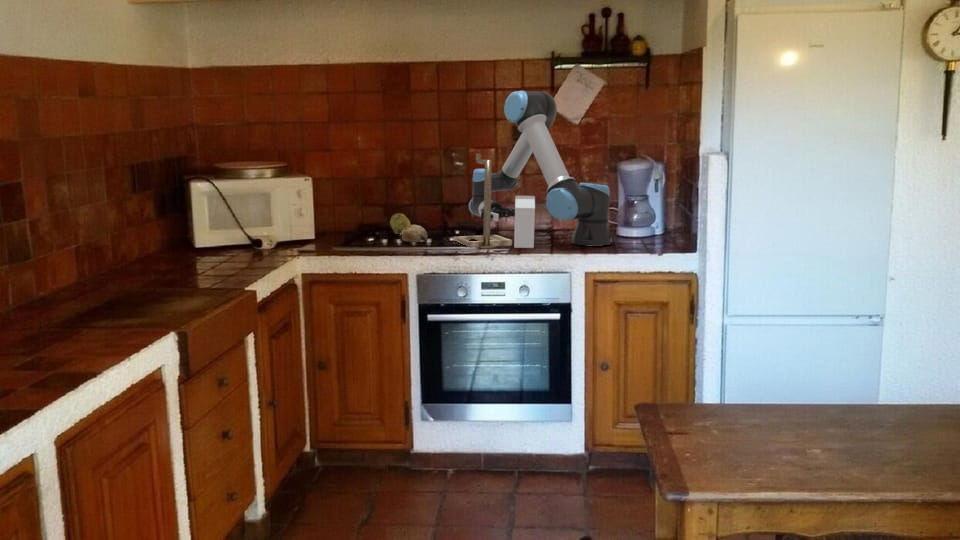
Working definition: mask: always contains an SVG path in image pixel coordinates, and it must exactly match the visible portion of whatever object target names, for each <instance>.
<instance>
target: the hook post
mask: <svg viewBox="0 0 960 540" xmlns="http://www.w3.org/2000/svg"><path fill="white" fill-rule="evenodd" d="M475 161H476V163H477V164H481V165H484V169H485V188H484V219H483V235H484V238H483V245H479V247H478V248H480V249H494V248H495V246H494V245H492V244H490V235H491V220H490V216H491V201H492V192H491V172H492V166H493V165H492V163H493V161H492V159H482V154H481V153H476V154H475Z"/></svg>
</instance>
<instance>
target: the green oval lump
mask: <svg viewBox="0 0 960 540" xmlns="http://www.w3.org/2000/svg"><path fill="white" fill-rule="evenodd" d="M409 225H412V224H411V221H410V219H409V218H408V217H407V216H406V215H405V214H404V213H400V212H398V213H394V214H393V215H392V216H391V217H390V220H389V227H390V228H391V229H392V232H393V233H394V234H395V235H397V234H400V233H401V232H402V230H403V229H404V228H406V227H407V226H409Z"/></svg>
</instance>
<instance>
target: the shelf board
mask: <svg viewBox="0 0 960 540" xmlns="http://www.w3.org/2000/svg"><path fill="white" fill-rule="evenodd" d="M452 237H453V240H455V241H457V242H459V243H461V244H463V245H466V246H477V247H476V248H480V247H479V245H483V238H484V234H483V235H464V236H452ZM471 239H475V240H477V241H469V240H471ZM453 240H452V241H453ZM490 244H492V245H494V247H506V246H512V245H513V239H509V238H507V237H504V236H501V235H498V234H490Z"/></svg>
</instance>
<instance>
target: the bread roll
mask: <svg viewBox="0 0 960 540" xmlns="http://www.w3.org/2000/svg"><path fill="white" fill-rule="evenodd" d="M401 235H402V236H401ZM399 236H400V240H401V241H402V242H406V243H408V242H409V243H423V242H425V240H426V241H427V240H428V237H429V236H428V232H427V231H426V229H425V228H424V227H422V225H418V224H411V225H409V226H407V227H406V228H404V229H403V230H402V232H401V233H400V235H399Z"/></svg>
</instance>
